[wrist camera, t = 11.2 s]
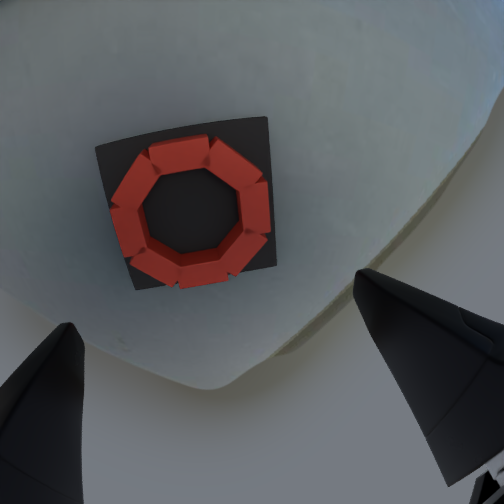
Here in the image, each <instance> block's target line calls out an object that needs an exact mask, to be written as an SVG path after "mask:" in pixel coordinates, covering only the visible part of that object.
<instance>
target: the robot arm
mask: <svg viewBox="0 0 504 504" xmlns="http://www.w3.org/2000/svg"><path fill="white" fill-rule="evenodd" d="M353 297H354V299H355V302H356V304H357V306H358V308H359V310H360V313H361V315H362V317H363V319H364V322H365V324H366V326H367V328H368V331H369V333H370V335H371V337H372V338H373V340H374V342H375V344H376V346H377V347H378V349H379V351H380V353H381V354H382V356H383V358H384V360H385V362H386V363H387V365H388V367H389V369H390V371H391V373H392V374H393V376H394V378H395V380H396V382H397V384H398V386H399V387H400V389H401V391H402V393H403V395H404V397H405V399H406V401H407V403H408V404H409V406H410V408H411V410H412V412H413V414H414V416H415V418H416V420H417V422H418V424H419V426H420V428H421V430H422V432H423V434H424V436H425V437H426V441H427V443H428V445H429V447H430V449H431V451H432V453H433V455H434V457H435V460H436V462H437V464H438V466H439V468H440V471H441V473H442V475H443V477H444V479H445V482H446V484H447V486H448V487H450V486H451V485H453V484H455V483H456V482H458V481H460V480H461V479H463V478H464V477H466V476H467V475H469V474H470V473H472V472H474V471H475V470H477V469H478V468H480V467H481V466H482V465H483V464H485V465H486V467H487V470H486V471H485V472H484V473H482V474H481V475H480V476H479V477H478V478H476V481H475V485H474V489H473V492H472V496H471V499H470V503H469V504H504V325H503V324H500V323H497V322H494V321H492V320H489V319H487V318H484V317H482V316H479V315H477V314H475V313H472V312H470V311H468V310H465V309H463V308H461V307H459V308H458V306H456V305H454V304H452V303H450V302H447V301H445V300H443V299H440V298H438V297H436V296H434V295H431V294H429V293H427V292H424V291H422V290H419V289H417V288H415V287H412V286H410V285H408V284H405V283H403V282H401V281H398V280H396V279H394V278H391V277H389V276H386V275H384V274H381V273H379V272H377V271H374V270H372V269H370V268H365V269H361V270H358V271H357V272H356V274H355V280H354V287H353ZM84 354H85V346H84V342H83V339H82V338H81V336H80V334H79V333H78V331H77V329H76V327H75V326H74V324H73V323H71V322H67V323H61V324H60V325H58V326H57V328H55V330H54V331H52V332H51V334H49V336H47V338H46V339H45V340H44V341H43V342H42V343H41V344H40V345H39V346H38V347H37V348H36V349H35V350H34V351H33V352H32V353H31V354H30V355H29V356H28V357H27V358H26V359H25V361H23V363H22V364H21V365H20V366H19V367H18V368H17V369H16V370H15V371H14V372H13V374H12V375H11V376H10V377H9V378H8V379H7V380H6V382H4V384H3V385H2V386H1V387H0V504H84V500H83V486H82V458H81V457H82V456H81V445H82V444H81V443H82V414H83V399H84Z"/></svg>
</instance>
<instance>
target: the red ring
mask: <svg viewBox="0 0 504 504" xmlns="http://www.w3.org/2000/svg"><path fill="white" fill-rule="evenodd" d="M148 150H149V151H147V150H146V149H144V150H143V151H142V152H141V153H140V154H139V155H138V157H137V158H136V160H135V161H134V163H133V164H132V166H131V167H130V169H129V171H128V172H127V174H126V175H125V177H124V179H123V180H122V182H121V184H120V185H119V187H118V189H117V190H116V192H115V194H114V195H113V197H112V199H111V201H112V202H113V203H114V204H113V205H112V207H111V208H110V213H111V217H112V220H113V224H114V227H115V231H116V234H117V237H118V240H119V244H120V247H121V250H122V253H123V256H124V257H130V256H132V257H131V260H130V265H132V266H134V267H135V268H137V269H139V270H141V271H143V272H144V273H146V274H148V275H150V276H152V277H153V278H155V279H157V280H159V281H161V282H163V283H164V284H166V285H168V286H170V287H173V286H174V284H175V283H176V282H177V281H178V283H179V287H180V289H183V288H189V287H195V286H201V285H206V284H212V283H218V282H223V281H228V280H229V279H228V273H227V272H229V273H230V274H232V275H234V276H237V275H238V274H239V273H240V271H241V270H242V269H243V268H244V267H245V266H246V265H247V263H248V262H249V261H250V260H251V259H252V258H253V257H254V255H255V254H256V253H257V252H258V251H259V250H260V249H261V247H262V246H263V245H264V244H265V243H266V242H267V241H268V239H267V237H266V235H265V234H264V233H269V232H271V227H270V212H269V197H268V182H267V181H266V180H265V179H264V178H263V176H262V174H263V173H262V172H261V171H260V170H259V169H258V168H257V167H256V166H255V165H254V164H253V163H251V162H250V161H249V160H247V159H246V158H245V157H243V156H242V155H241V154H239V153H238V152H237V151H236V150H234V149H233V148H232V147H230V146H229V145H228V144H226V143H225V142H223V141H222V140H221V139H219V138H218V137H217V136H215V137H214V138H213V139H212V141H211V142H210V143H209V140H208V136H207V134H200V135H194V136H188V137H182V138H177V139H171V140H166V141H161V142H156V143H152V144H151V145H150V147H149V148H148ZM199 168H206V169H207V170H209V171H210V172H212V173H213V174H214V175H216V176H217V177H219V178H220V179H221V180H223V181H224V182H226V183H227V184H228V185H230V186H231V187H233V188H234V189H235V190H236V197H237V205H238V214H239V221H238V222H237V224H236V225H235V226H234V227H233V228H232V230H231V231H230V232H229V233H228V234H227V236H226V237H225V238H224V239H223V241H222V242H221V243H220V244H219V246H218V247H217V248H213V249H207V250H202V251H196V252H190V253H185V254H180V253H178V252H176V251H175V250H173V249H171V248H169V247H168V246H166V245H164V244H163V243H161V242H159V241H158V240H156V239H154V238H153V237H151V236H150V233H149V230H148V226H147V222H146V218H145V214H144V210H143V205H142V202H143V201H144V199H145V198H146V196H147V195H148V193H149V192H150V190H151V189H152V187H153V186H154V184H155V183H156V181H157V180H158V178H159V177H160V176H161V175H165V174H171V173H176V172H182V171H187V170H193V169H199Z"/></svg>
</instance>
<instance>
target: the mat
mask: <svg viewBox="0 0 504 504" xmlns="http://www.w3.org/2000/svg"><path fill="white" fill-rule="evenodd" d="M200 134H207V136H208V140H209V143H210V142H211V141H212V139H213V138H214V137H215V136H217V137H218V138H219V139H221V140H222V141H223V142H225V143H226V144H228V145H229V146H230V147H232V148H233V149H234V150H236V151H237V152H238V153H239V154H241V155H242V156H243V157H245V158H246V159H247V160H249V161H250V162H251V163H253V164H254V165H255V166H256V167H257V168H258V169H259V170H260V171H261V172H262V173H263V174H262V176H263V178H264V179H265V180H266V181H267V182H268V197H269V212H270V227H271V232H269V233H264V234H265V235H266V237H267V239H268V241H267V242H266V243H265V244H264V245H263V246H262V247H261V249H260V250H259V251H258V252H257V253H256V254H255V255H254V257H253V258H252V259H251V260H250V261H249V262H248V263H247V265H246V266H245V267H244V268H243V269H242V270H241V271H240V272H245V271H251V270H256V269H262V268H267V267H273V266H277V259H276V240H275V222H274V204H273V188H272V173H271V158H270V144H269V131H268V118H267V117H265V116H263V117H252V118H242V119H233V120H225V121H217V122H210V123H203V124H196V125H190V126H184V127H179V128H173V129H168V130H163V131H158V132H153V133H148V134H143V135H139V136H135V137H130V138H126V139H122V140H118V141H114V142H110V143H107V144H103V145H99V146H97V147H95V151H96V156H97V160H98V165H99V169H100V174H101V178H102V182H103V186H104V190H105V194H106V198H107V202H108V206H109V209H110V208H111V207H112V205H113V204H114V203H113V202H112V201H111V199H112V197H113V195H114V194H115V192H116V190H117V189H118V187H119V185H120V184H121V182H122V180H123V179H124V177H125V175H126V174H127V172H128V171H129V169H130V167H131V166H132V164H133V163H134V161H135V160H136V158H137V157H138V155H139V154H140V153H141V152H142V151H143V150H144V149H146V150H147V151H149V150H148V148H149V147H150V145H151V144H152V143H156V142H161V141H166V140H171V139H177V138H182V137H188V136H194V135H200ZM142 205H143V210H144V214H145V218H146V222H147V226H148V230H149V233H150V236H151V237H153V238H154V239H156V240H158V241H159V242H161V243H163V244H164V245H166V246H168V247H169V248H171V249H173V250H175V251H176V252H178V253H180V254H185V253H190V252H196V251H202V250H207V249H213V248H217V247H218V246H219V244H220V243H221V242H222V241H223V239H224V238H225V237H226V236H227V234H228V233H229V232H230V231H231V230H232V228H233V227H234V226H235V225H236V224H237V222H238V221H239V214H238V205H237V197H236V190H235V189H234V188H233V187H231V186H230V185H228V184H227V183H226V182H224V181H223V180H221V179H220V178H219V177H217V176H216V175H214V174H213V173H212V172H210V171H209V170H207V169H206V168H199V169H193V170H187V171H182V172H176V173H171V174H165V175H161V176H160V177H159V178H158V180H157V181H156V183H155V184H154V186H153V187H152V189H151V190H150V192H149V193H148V195H147V196H146V198H145V199H144V201H143V202H142ZM131 257H132V256H130V257H124V259H125V262H126V265H127V267H128V270H129V273H130V276H131V279H132V282H133V284H134V287H135V290H140V289H146V288H153V287H159V286H165V285H166V284H164V283H163V282H161V281H159V280H157V279H155V278H153V277H152V276H150V275H148V274H146V273H144V272H143V271H141V270H139V269H137V268H135V267H134V266H132V265H130V260H131ZM227 273H228V274H230V273H229V272H227ZM176 283H178V281H177V282H176ZM176 283H175V284H176Z"/></svg>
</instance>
